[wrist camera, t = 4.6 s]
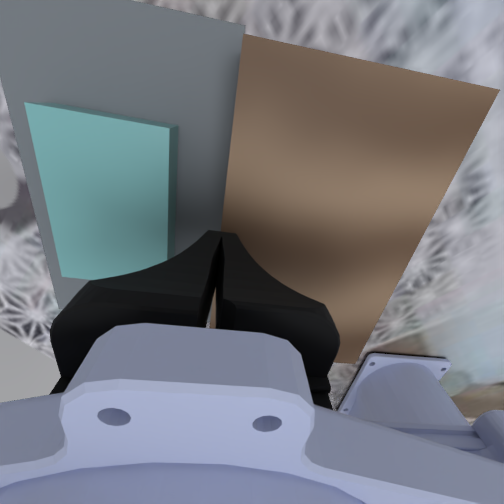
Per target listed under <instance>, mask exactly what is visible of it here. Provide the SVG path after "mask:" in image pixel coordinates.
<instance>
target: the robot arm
mask: <svg viewBox="0 0 504 504" xmlns="http://www.w3.org/2000/svg"><path fill="white" fill-rule="evenodd" d="M215 288H216V327H215V329H210V328H206V324H207V320H208V316H209V312H210V308H211V304H212V300H213V296H214V292H215ZM50 339H51V344H52V348H53V351H54V355H55V358H56V361H57V365H58V368H59V371H60V374H61V378H60V379H59V381H58V382H57V384H56V385H55V387H54V389H53V390H52V391H51V393H50V394H49V395H45V396H39V397H32V398H27V399H21V400H14V401H8V402H2V403H0V504H504V410H490V411H487V412H485V413H483V414H481V415H480V416H479V417H478V418H477V419H476V420H475V421H474V423H473V425H472V426H470V424H469V423H468V421H467V420H466V419H465V417H464V416H463V415H462V413H461V412H460V410H459V409H458V408H457V406H456V405H455V404H454V402H453V401H452V399H451V398H450V397H449V395H448V394H447V393H446V391H445V390H444V388H443V387H442V386H441V384H440V383H439V380H440V379H441V378H442V377H443V375H444V374H445V373H446V372H447V370H448V369H449V368H450V367H451V365H452V364H451V362H450V361H449V360H448V359H441V358H429V357H416V356H404V355H391V354H379V353H372V354H369V355H368V356H367V358H366V360H365V362H364V364H363V365H362V367H361V369H360V371H359V373H358V374H357V376H356V378H355V380H354V382H353V384H352V385H351V387H350V389H349V391H348V393H347V394H346V396H345V398H344V400H343V402H342V404H341V405H340V407H339V409H338V411H334V410H333V409H332V405H331V402H330V399H329V396H328V393H330V391H331V386H330V383H329V380H328V377H327V375H328V373H329V371H330V369H331V366H332V364H333V362H334V360H335V358H336V356H337V354H338V351H339V347H340V335H339V332H338V330H337V328H336V325H335V323H334V321H333V319H332V316H331V314H330V313H329V311H328V309H327V307H326V305H325V304H323V303H321V302H318V301H316V300H314V299H311V298H309V297H307V296H304V295H302V294H300V293H298V292H296V291H295V290H293V289H291V288H289V287H287V286H286V285H284V284H282V283H281V282H280V281H278V280H277V279H275V278H274V277H272V276H271V275H270V274H269V273H267V272H266V271H265V270H264V269H263V268H262V267H261V266H260V265H259V264H258V263H257V262H256V261H255V260H254V259H253V258H252V257H251V255H250V254H249V253H248V251H247V250H246V248H245V247H244V245H243V244H242V242H241V241H240V239H239V237H238V235H237V234H236V233H229V232H222V231H214V230H208V231H207V232H205V233H204V234H203V235H202V236H201V237H200V238H199V239H198V240H197V241H196V242H194V243H193V244H192V245H191V246H189V247H188V248H187V249H185V250H184V251H182V252H181V253H179V254H178V255H176V256H174V257H172V258H170V259H168V260H166V261H164V262H162V263H159V264H157V265H154V266H151V267H149V268H146V269H143V270H140V271H136V272H132V273H128V274H124V275H120V276H114V277H109V278H103V279H97V280H89V281H88V282H87V283H86V284H85V285H84V286H83V287H82V288H81V289H80V290H79V291H78V292H77V294H76V295H75V296H74V297H73V298H72V299H71V301H70V302H69V303H68V304H67V305H66V306H65V308H64V309H63V310H62V311H61V312H60V314H59V315H58V316H57V317H56V318H55V319H54V321H53V323H52V326H51V329H50Z"/></svg>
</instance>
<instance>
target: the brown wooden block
mask: <svg viewBox="0 0 504 504" xmlns="http://www.w3.org/2000/svg"><path fill="white" fill-rule="evenodd" d="M499 91H500V90H498V89H494V88H489V87H485V86H480V85H475V84H471V83H466V82H462V81H457V80H453V79H448V78H443V77H439V76H434V75H430V74H425V73H421V72H416V71H411V70H407V69H402V68H398V67H393V66H389V65H384V64H379V63H375V62H370V61H366V60H361V59H357V58H352V57H347V56H343V55H338V54H334V53H329V52H325V51H320V50H315V49H311V48H306V47H302V46H297V45H292V44H288V43H283V42H279V41H274V40H270V39H265V38H260V37H256V36H251V35H247V34H243V39H242V48H241V57H240V65H239V74H238V83H237V92H236V100H235V109H234V118H233V127H232V135H231V144H230V153H229V162H228V171H227V179H226V188H225V197H224V206H223V214H222V223H221V231H222V232H229V233H236V234H237V235H238V237H239V239H240V241H241V242H242V244H243V245H244V247H245V248H246V250H247V251H248V253H249V254H250V255H251V257H252V258H253V259H254V260H255V261H256V262H257V263H258V264H259V265H260V266H261V267H262V268H263V269H264V270H265V271H266V272H267V273H269V274H270V275H271V276H272V277H274V278H275V279H277V280H278V281H280V282H281V283H282V284H284V285H286V286H287V287H289V288H291V289H293V290H295V291H296V292H298V293H300V294H302V295H304V296H307V297H309V298H311V299H314V300H316V301H318V302H321V303H323V304H325V305H326V307H327V309H328V311H329V313H330V314H331V316H332V319H333V321H334V323H335V325H336V328H337V330H338V332H339V335H340V347H339V351H338V354H337V356H336V358H335V360H334V362H336V363H349V364H355V363H356V361H357V359H358V358H359V356H360V354H361V352H362V350H363V348H364V346H365V344H366V342H367V340H368V339H369V337H370V335H371V333H372V331H373V329H374V327H375V325H376V323H377V322H378V320H379V318H380V316H381V314H382V312H383V310H384V308H385V306H386V305H387V303H388V301H389V299H390V297H391V295H392V293H393V291H394V289H395V287H396V286H397V284H398V282H399V280H400V278H401V276H402V274H403V272H404V270H405V269H406V267H407V265H408V263H409V261H410V259H411V257H412V255H413V253H414V252H415V250H416V248H417V246H418V244H419V242H420V240H421V238H422V236H423V234H424V233H425V231H426V229H427V227H428V225H429V223H430V221H431V219H432V217H433V216H434V214H435V212H436V210H437V208H438V206H439V204H440V202H441V200H442V199H443V197H444V195H445V193H446V191H447V189H448V187H449V185H450V183H451V181H452V180H453V178H454V176H455V174H456V172H457V170H458V168H459V166H460V164H461V163H462V161H463V159H464V157H465V155H466V153H467V151H468V149H469V147H470V146H471V144H472V142H473V140H474V138H475V136H476V134H477V132H478V130H479V129H480V127H481V125H482V123H483V121H484V119H485V117H486V115H487V113H488V111H489V110H490V108H491V106H492V104H493V102H494V100H495V98H496V96H497V94H498V93H499ZM215 327H216V288H215V292H214V296H213V302H212V311H211V319H210V329H215Z"/></svg>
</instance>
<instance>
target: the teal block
mask: <svg viewBox="0 0 504 504" xmlns="http://www.w3.org/2000/svg"><path fill="white" fill-rule="evenodd" d="M24 104H25V108H26V113H27V118H28V122H29V127H30V132H31V136H32V141H33V145H34V150H35V155H36V159H37V164H38V168H39V173H40V178H41V182H42V187H43V192H44V196H45V201H46V205H47V210H48V215H49V219H50V224H51V228H52V233H53V238H54V242H55V247H56V252H57V256H58V261H59V265H60V270H61V275H62V277H69V278H79V279H88V280H97V279H103V278H109V277H114V276H120V275H124V274H128V273H132V272H136V271H140V270H143V269H146V268H149V267H151V266H154V265H157V264H159V263H162V262H164V261H166V260H168V259H170V258H172V257H174V249H175V218H176V186H177V155H178V125H173V124H167V123H162V122H156V121H151V120H145V119H140V118H134V117H129V116H123V115H118V114H112V113H107V112H101V111H96V110H90V109H85V108H79V107H74V106H68V105H63V104H57V103H38V102H24Z"/></svg>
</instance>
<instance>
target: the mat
mask: <svg viewBox="0 0 504 504" xmlns="http://www.w3.org/2000/svg"><path fill="white" fill-rule="evenodd" d="M244 33H245V26H244V25H240V24H236V23H231V22H227V21H222V20H218V19H213V18H209V17H204V16H200V15H195V14H191V13H186V12H182V11H177V10H173V9H168V8H164V7H159V6H155V5H150V4H146V3H141V2H137V1H132V0H0V78H1V82H2V86H3V90H4V94H5V98H6V102H7V106H8V110H9V114H10V117H11V121H12V125H13V129H14V133H15V137H16V141H17V145H18V149H19V153H20V157H21V161H22V165H23V169H24V173H25V177H26V181H27V185H28V189H29V193H30V197H31V201H32V204H33V208H34V212H35V216H36V220H37V224H38V228H39V232H40V236H41V240H42V244H43V248H44V252H45V256H46V260H47V264H48V268H49V272H50V276H51V280H52V284H53V288H54V291H55V295H56V299H57V303H58V307H59V309H64V308H65V306H66V305H67V304H68V303H69V302H70V301H71V299H72V298H73V297H74V296H75V295H76V294H77V292H78V291H79V290H80V289H81V288H82V287H83V286H84V285H85V284H86V283H87V282H88V281H89V280H88V279H79V278H69V277H62V275H61V270H60V265H59V261H58V256H57V252H56V247H55V242H54V238H53V233H52V228H51V224H50V219H49V215H48V210H47V205H46V201H45V196H44V192H43V187H42V182H41V178H40V173H39V168H38V164H37V159H36V155H35V150H34V145H33V141H32V136H31V132H30V127H29V122H28V118H27V113H26V108H25V104H24V102H38V103H57V104H63V105H68V106H74V107H79V108H85V109H90V110H96V111H101V112H107V113H112V114H118V115H123V116H129V117H134V118H140V119H145V120H151V121H156V122H162V123H167V124H173V125H178V155H177V186H176V218H175V249H174V256H176V255H178V254H179V253H181V252H182V251H184V250H185V249H187V248H188V247H189V246H191V245H192V244H193V243H194V242H196V241H197V240H198V239H199V238H200V237H201V236H202V235H203V234H204V233H205V232H207V231H208V230H214V231H221V223H222V214H223V206H224V197H225V188H226V179H227V171H228V162H229V153H230V144H231V135H232V127H233V118H234V109H235V100H236V92H237V83H238V74H239V65H240V57H241V48H242V39H243V34H244ZM212 302H213V300H212ZM211 311H212V304H211V308H210V312H209V316H208V320H207V322H210V319H211Z"/></svg>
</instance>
